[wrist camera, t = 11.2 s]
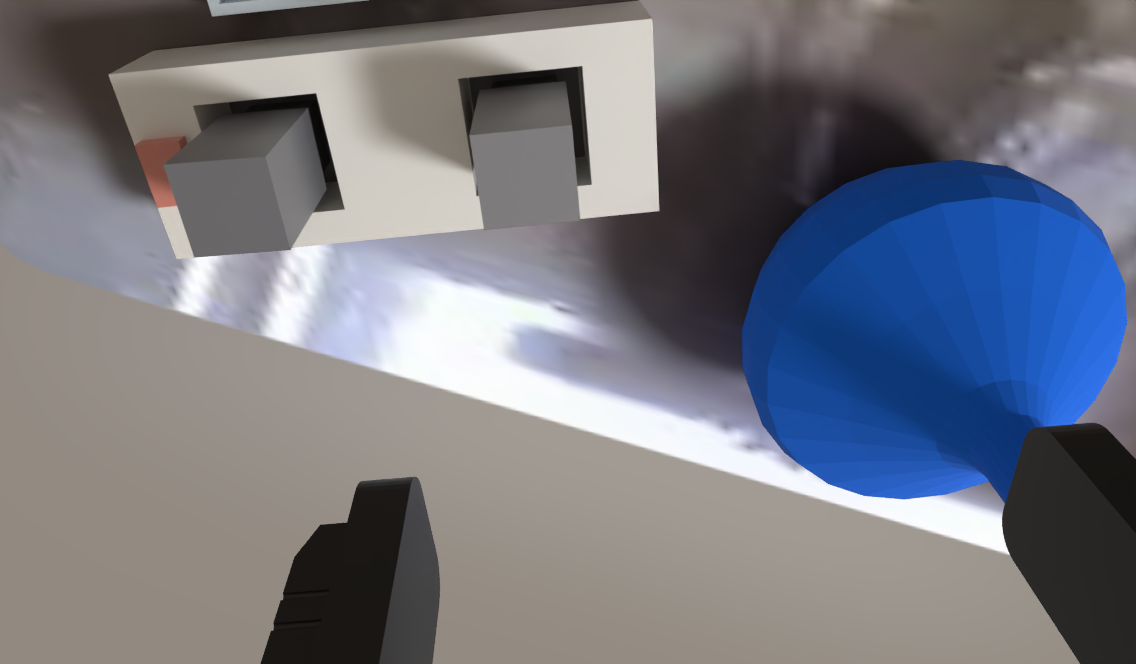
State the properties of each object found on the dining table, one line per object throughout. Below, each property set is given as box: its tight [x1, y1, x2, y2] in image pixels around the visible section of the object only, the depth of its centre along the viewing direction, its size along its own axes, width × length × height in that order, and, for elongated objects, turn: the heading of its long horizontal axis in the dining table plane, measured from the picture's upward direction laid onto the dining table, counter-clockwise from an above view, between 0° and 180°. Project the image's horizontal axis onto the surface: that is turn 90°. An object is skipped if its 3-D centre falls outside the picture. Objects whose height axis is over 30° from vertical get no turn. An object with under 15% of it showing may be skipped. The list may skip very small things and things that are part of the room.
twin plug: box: [469, 75, 580, 230], centre depth 37 cm, size 4×4×10 cm
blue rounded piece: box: [742, 160, 1127, 503], centre depth 40 cm, size 18×18×19 cm
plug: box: [163, 100, 330, 257], centre depth 37 cm, size 4×4×10 cm
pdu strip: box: [108, 1, 659, 259], centre depth 40 cm, size 9×24×6 cm, turn 95°
